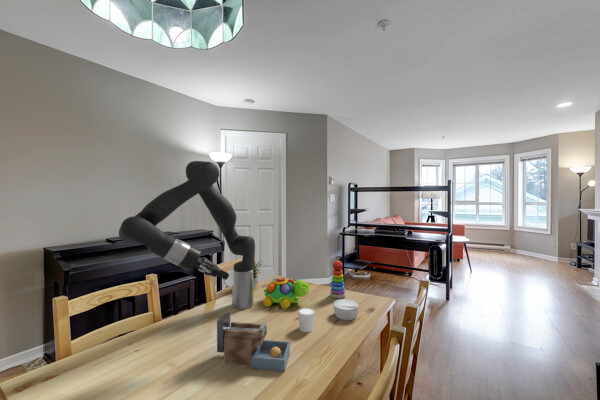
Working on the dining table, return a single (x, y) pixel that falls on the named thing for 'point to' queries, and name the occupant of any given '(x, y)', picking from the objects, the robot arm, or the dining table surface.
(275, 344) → the blue square tray
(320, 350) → the dining table surface
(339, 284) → the stacking toy
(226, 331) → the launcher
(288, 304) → the turtle toy
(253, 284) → the house plant
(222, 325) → the pusher
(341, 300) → the ramekin
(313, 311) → the white cup
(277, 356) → the ball
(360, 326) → the dining table surface
